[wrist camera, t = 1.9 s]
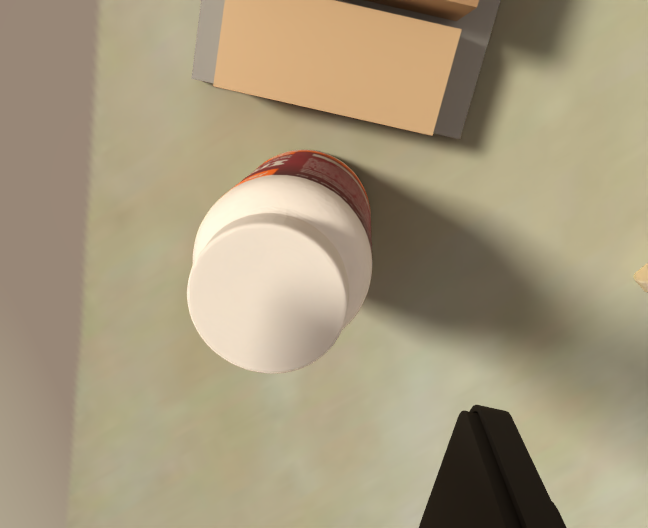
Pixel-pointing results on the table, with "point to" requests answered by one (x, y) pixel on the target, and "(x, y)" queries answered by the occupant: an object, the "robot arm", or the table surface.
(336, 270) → the pill bottle
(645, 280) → the toy table
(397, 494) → the table surface
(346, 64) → the stand
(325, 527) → the table surface
